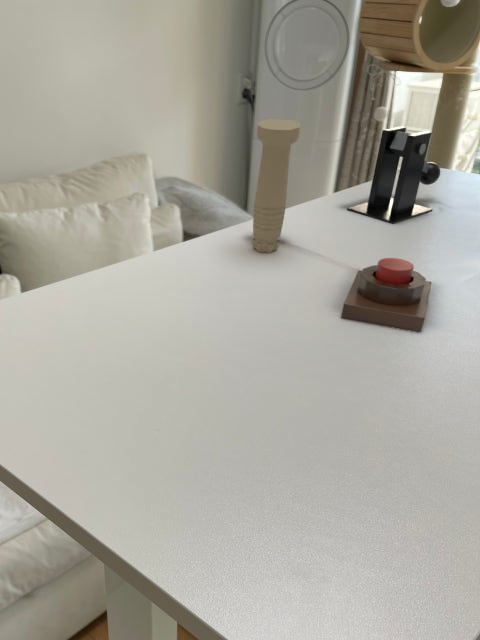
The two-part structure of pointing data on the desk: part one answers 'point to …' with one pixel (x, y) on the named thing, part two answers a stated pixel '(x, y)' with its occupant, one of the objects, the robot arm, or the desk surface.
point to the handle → (272, 181)
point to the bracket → (407, 182)
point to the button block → (387, 301)
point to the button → (394, 271)
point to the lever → (430, 168)
